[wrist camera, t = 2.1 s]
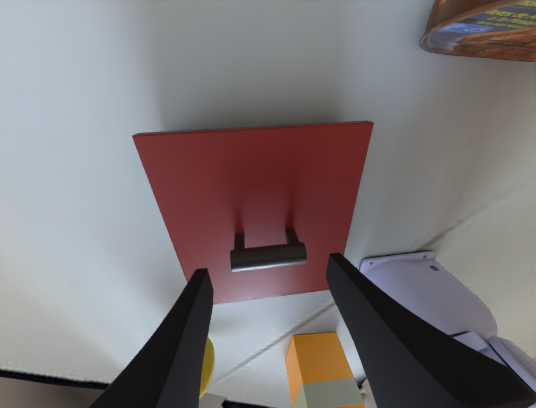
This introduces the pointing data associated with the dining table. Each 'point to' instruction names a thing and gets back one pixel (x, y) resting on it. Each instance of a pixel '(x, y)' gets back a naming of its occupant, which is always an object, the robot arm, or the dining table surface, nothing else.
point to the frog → (367, 395)
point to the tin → (483, 29)
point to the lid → (257, 201)
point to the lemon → (207, 367)
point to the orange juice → (320, 373)
